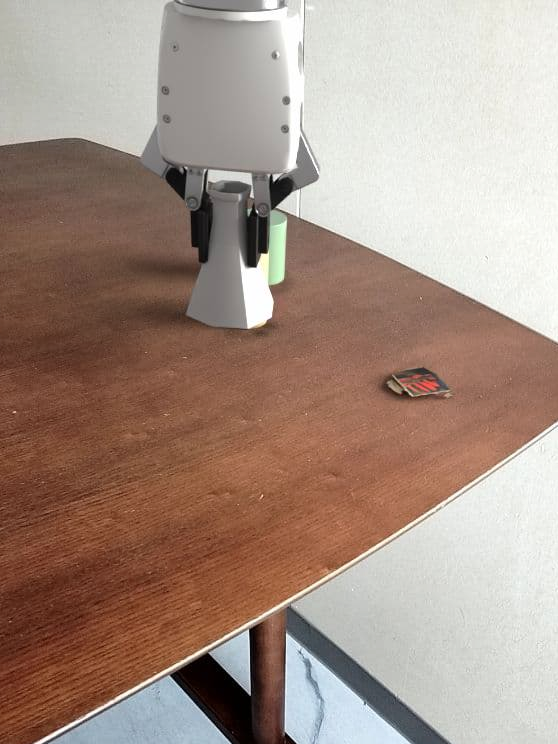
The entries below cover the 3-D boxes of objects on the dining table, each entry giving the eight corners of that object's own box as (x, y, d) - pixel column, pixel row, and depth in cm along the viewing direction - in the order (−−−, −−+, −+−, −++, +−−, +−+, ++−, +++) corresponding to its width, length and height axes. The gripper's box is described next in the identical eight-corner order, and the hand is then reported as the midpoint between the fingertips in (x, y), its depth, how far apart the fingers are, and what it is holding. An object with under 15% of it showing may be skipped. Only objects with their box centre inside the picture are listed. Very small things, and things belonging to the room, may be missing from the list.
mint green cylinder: (231, 283, 86) (232, 223, 83) (239, 264, 90) (240, 205, 86) (281, 288, 86) (283, 228, 82) (287, 268, 90) (289, 210, 86)
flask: (254, 339, 68) (256, 210, 61) (170, 320, 69) (164, 192, 63) (287, 303, 73) (292, 181, 66) (209, 286, 75) (207, 165, 68)
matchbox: (419, 366, 75) (420, 361, 75) (460, 393, 72) (461, 388, 72) (378, 380, 73) (379, 375, 73) (418, 408, 70) (419, 403, 70)
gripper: (358, -14, 59) (337, 250, 71) (121, -32, 60) (139, 232, 71) (352, 4, 53) (330, 288, 65) (90, -17, 54) (115, 268, 66)
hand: (230, 256), depth 68 cm, fingers closed on flask, 3 cm apart
